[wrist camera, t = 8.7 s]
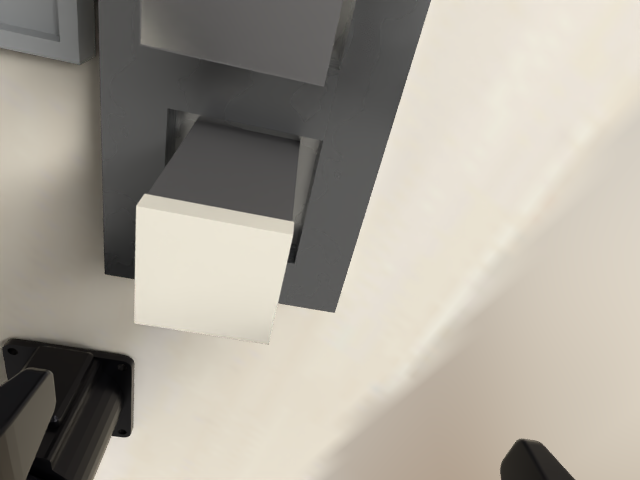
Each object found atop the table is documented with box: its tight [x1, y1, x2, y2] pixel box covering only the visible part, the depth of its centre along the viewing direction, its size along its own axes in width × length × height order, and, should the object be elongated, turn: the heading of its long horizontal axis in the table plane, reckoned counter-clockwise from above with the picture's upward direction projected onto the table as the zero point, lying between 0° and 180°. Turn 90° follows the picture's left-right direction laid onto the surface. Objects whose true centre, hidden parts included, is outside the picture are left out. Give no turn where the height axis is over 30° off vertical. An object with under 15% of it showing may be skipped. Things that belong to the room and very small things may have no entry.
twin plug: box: [134, 120, 300, 345], centre depth 17 cm, size 4×4×7 cm
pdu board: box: [98, 0, 431, 313], centre depth 17 cm, size 18×10×2 cm, turn 168°
